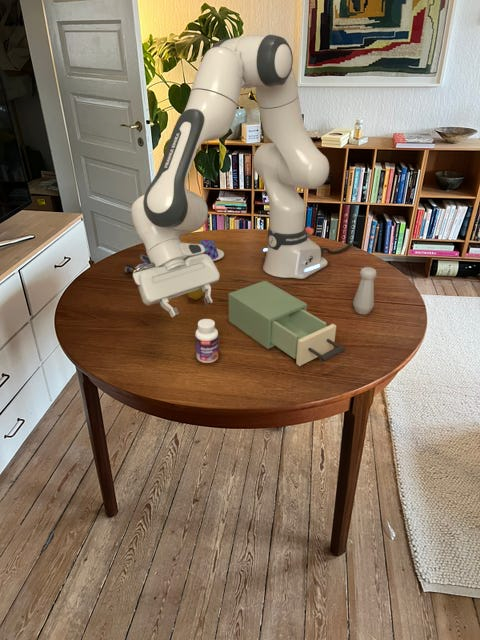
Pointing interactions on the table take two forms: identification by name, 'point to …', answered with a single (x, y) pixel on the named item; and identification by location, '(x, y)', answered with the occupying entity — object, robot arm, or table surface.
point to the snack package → (132, 269)
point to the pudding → (211, 250)
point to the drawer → (305, 337)
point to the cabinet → (261, 309)
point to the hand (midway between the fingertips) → (192, 310)
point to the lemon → (195, 294)
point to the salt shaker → (365, 291)
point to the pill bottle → (207, 341)
